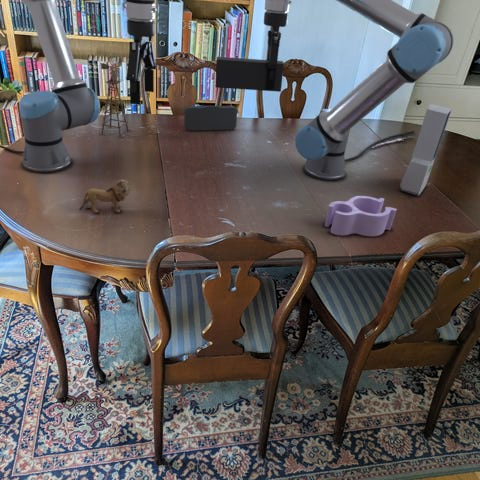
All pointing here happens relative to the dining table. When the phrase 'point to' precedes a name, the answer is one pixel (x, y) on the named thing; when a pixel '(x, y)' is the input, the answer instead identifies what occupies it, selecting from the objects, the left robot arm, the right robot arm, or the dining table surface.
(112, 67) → the miniature windmill
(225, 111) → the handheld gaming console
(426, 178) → the electronic device
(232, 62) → the bar
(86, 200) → the lion figurine
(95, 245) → the dining table surface
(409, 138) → the sword
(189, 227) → the dining table surface
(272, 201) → the dining table surface
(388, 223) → the clip
